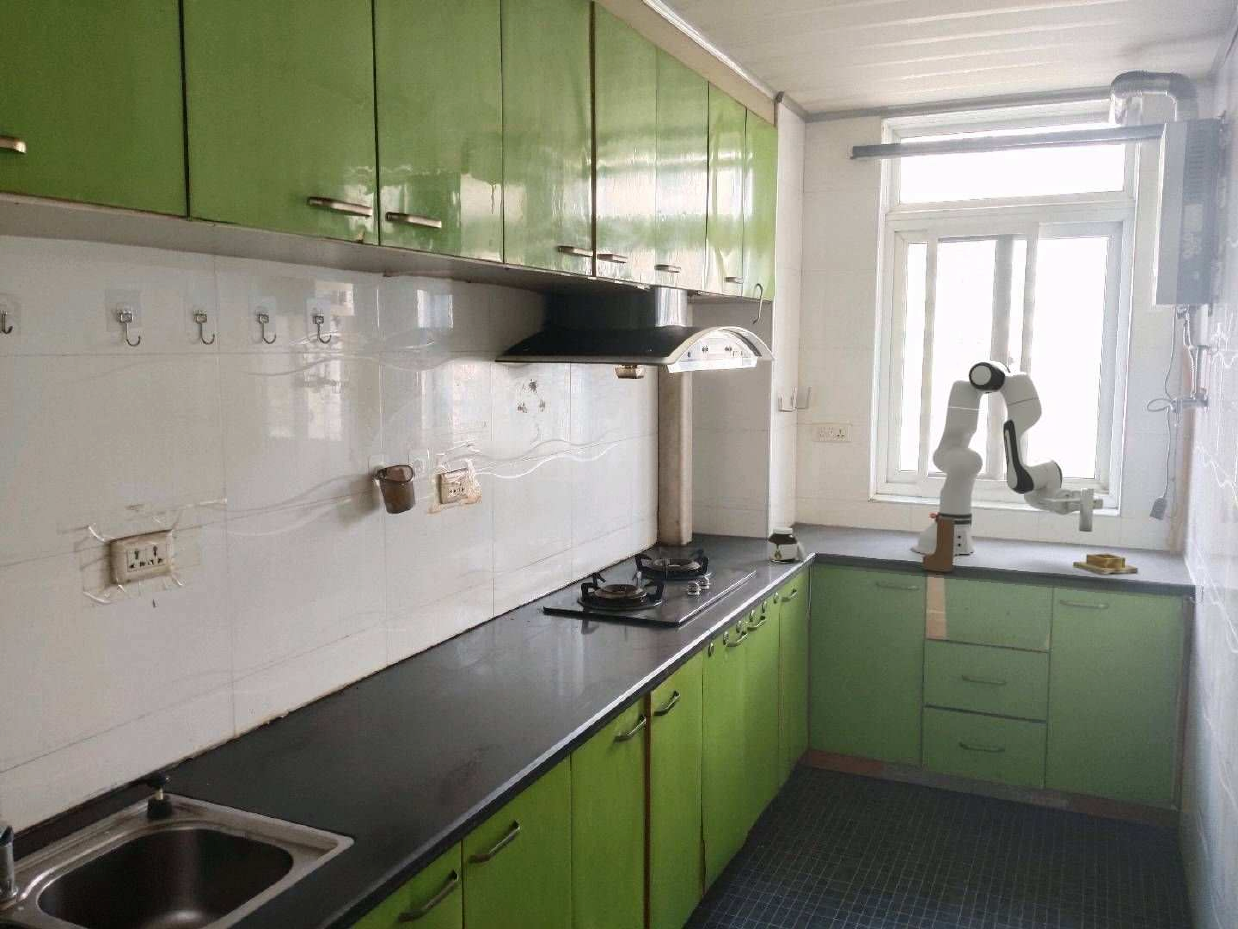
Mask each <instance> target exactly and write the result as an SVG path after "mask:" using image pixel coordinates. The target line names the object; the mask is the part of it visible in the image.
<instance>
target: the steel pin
mask: <svg viewBox="0 0 1238 929" xmlns="http://www.w3.org/2000/svg"><path fill="white" fill-rule="evenodd" d="M1094 493H1095V488H1090V487H1082V488H1080V504H1082V505H1083V510H1080V511H1079V515H1078V516H1079V518H1078V531H1079V532H1083V533H1084V532H1085V533H1088V532H1089V533H1091V532H1093V518H1094V515H1093V514H1094V510H1093V500H1094V496H1095V495H1094Z"/></svg>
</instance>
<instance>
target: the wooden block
mask: <svg viewBox="0 0 1238 929" xmlns="http://www.w3.org/2000/svg"><path fill="white" fill-rule="evenodd" d="M954 523H955V519H954V518H951V517H940V518H938V519H937V542H936V550H935V553H933V554H924V556H922V567H921V568H922V570H925V571H932V572H940V573H950V572H953V569H954V555H953V549H954Z"/></svg>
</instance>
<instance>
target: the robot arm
mask: <svg viewBox="0 0 1238 929" xmlns="http://www.w3.org/2000/svg"><path fill="white" fill-rule="evenodd" d="M997 392H999V393H1000V394H1001V395H1002V397H1003V398H1004V399H1003V400H1004V404H1005V407H1006V411H1007V417H1006V421H1005V422H1004V423H1003V426H1002V433H1003V434H1002V435H1003V444H1004V453H1005V463H1006V483H1007V486H1008V487H1009V488H1010V489H1011V490H1012V491H1013V492H1015V493H1016V494H1018V495H1019V494H1020V495H1023V499H1024V501H1025V503H1026V504H1028V505H1029V507H1031V508H1034V509H1036V510H1039V511H1043V512H1049V513H1053V514H1058V515H1061V516H1064V515H1067V514H1071V513H1073V512H1080V510H1083V505H1082V504H1080V491H1081V490H1080V491H1079V490H1070V489H1066V488H1062V484H1063V471H1062V469H1061V467H1060V466H1059V464H1058V463H1057V462H1056V461H1054V460H1053V459H1051V458H1046V459H1045V458H1044V459H1041V460H1040V459H1039V460H1038V461H1037V460H1035V461H1033V462H1027V463H1024V461H1023V454H1022V452H1023V451H1022V445H1021V439H1022V436H1023V434H1025V432H1027V431H1028V430H1029V429H1030V428H1032V427H1033V426H1035V425H1036V424H1037V423H1038V422H1039V420H1040V418H1041V417H1042V413H1043V411H1042V410H1043V408H1042V404H1041V401H1040V398H1039V394H1038V391H1037V388H1036V387H1035V384H1034V383H1033V380H1032V379H1031V377H1030V375H1029V374H1028V373H1026V372H1024V371H1016V372H1011V370H1010V368H1009V367H1008V366H1007V365H1005V363H1001V362H999V361H995V360H981V361H979V362H976V363H975V364H973V365H972V367H971V368H970V370H969V372H968V377H961V378H958V379H956V380H955V381H954V382H953V384H952V386H951V389H950V392H949V396H948V401H947V410H946V416H945V424H944V428H943V433H942V435H941V437H940V438H941V439H940V441H939V444H938V447H937V448H936V449H935V451H934V452H933V454H932V463H933V464H934V465H935V467H936V468H937V469H938V470H939V471H940V472H942V473H944V474H946V477H945V481H944V484H943V486H942V488H941V489H940V492H939V511H938V512H937V513H934V512H930V514H928V515H929V518H930V519H934V522H933V523H932V524H930V525H929V526H928V527H926V528H925V529H924V530H922V531H921V532H920V534H919V535H918V539H917V544H916V545H911V546H910V550H912V551H913V552H916V553H919V552H920V554H923V553H924V554H923V555H928V554H933V553H935V550H936V542H937V519H938V518H940V517H951V518H954V519H955V523H954V549H953V556H956V554H957V556H960V555H959V554H970V555H971V552H972V553H974V552H975V549H974V546H973V539H972V528H971V527H972V523H973V513H972V494H973V490H974V485H975V482H976V478H977V475H978V474H979V473H980V472H981V470H982V468H983V465H984V464H983V457H982V456H981V454H979V453H978V451H976V450H974V449H973V448H971V447H969V445H970V442H971V440H972V438H973V436H974V434H975V433H977V429H978V424H979V422H978V421H979V414H980V406H981V405H980V404H981V400H982V397H983V395H987V394H991V393H997ZM1103 508H1104V499H1103V498H1102V497H1099V496H1096V495H1094V500H1093V511H1094V510H1103Z"/></svg>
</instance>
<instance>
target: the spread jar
mask: <svg viewBox="0 0 1238 929" xmlns="http://www.w3.org/2000/svg"><path fill="white" fill-rule="evenodd" d="M793 532H794V531H793V528H792V527H786V526H778V527H777V526H775V527H773V528H772V533H771V535H770V536H769V537H768V539H767V556H768V558H769V560H770V559H772V560H775V561H780V562H791V561H793V562H794V561H795V560H796V559H798V558H799V559H801V560H802V561H801V562H803V561H807V553H806V550H805V548H804V546H803V545H802V543H801V542H800V541H798V540H797V538H796V536H795V535H794V533H793ZM799 559H798V560H799ZM791 563H792V562H791Z"/></svg>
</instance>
